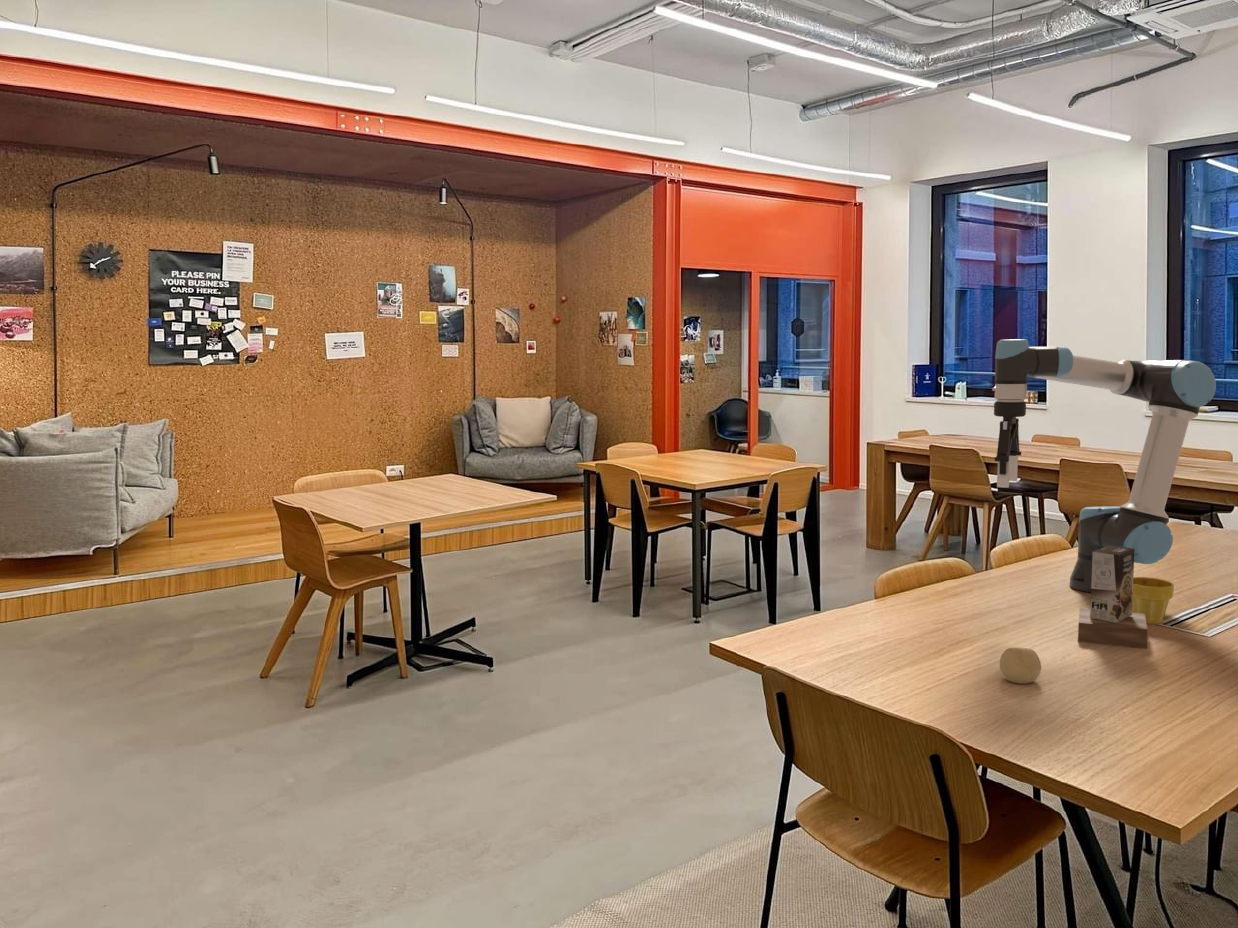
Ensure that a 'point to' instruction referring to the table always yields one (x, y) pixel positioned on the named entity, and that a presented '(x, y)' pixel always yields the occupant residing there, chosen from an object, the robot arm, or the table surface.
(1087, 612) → the walnut block
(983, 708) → the table surface
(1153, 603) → the plant pot
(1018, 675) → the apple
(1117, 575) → the coffee box
